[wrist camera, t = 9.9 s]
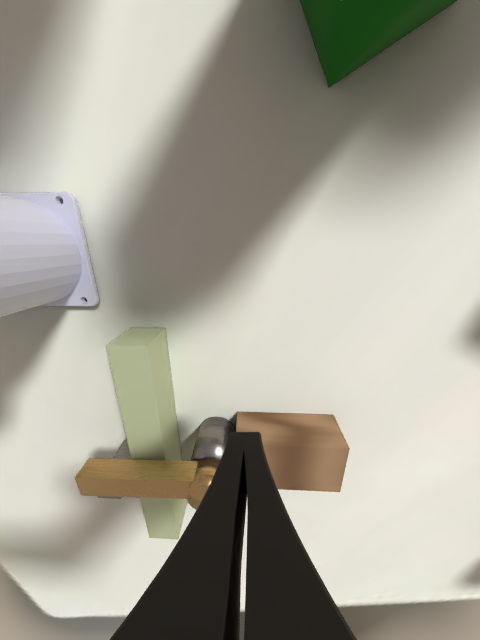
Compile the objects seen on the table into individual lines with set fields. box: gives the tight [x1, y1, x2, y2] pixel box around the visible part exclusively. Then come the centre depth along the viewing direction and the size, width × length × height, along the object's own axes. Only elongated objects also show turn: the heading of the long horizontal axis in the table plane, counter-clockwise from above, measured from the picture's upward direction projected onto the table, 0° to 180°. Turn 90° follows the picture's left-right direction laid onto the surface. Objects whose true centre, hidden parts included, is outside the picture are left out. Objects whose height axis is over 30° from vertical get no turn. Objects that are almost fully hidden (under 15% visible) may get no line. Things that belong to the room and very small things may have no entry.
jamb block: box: [236, 412, 349, 492], centre depth 20 cm, size 9×5×4 cm, turn 90°
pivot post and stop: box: [98, 417, 236, 499], centre depth 20 cm, size 11×4×5 cm, turn 90°
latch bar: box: [75, 458, 220, 509], centre depth 17 cm, size 12×3×2 cm, turn 91°
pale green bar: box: [106, 328, 187, 539], centre depth 21 cm, size 3×22×3 cm, turn 0°
